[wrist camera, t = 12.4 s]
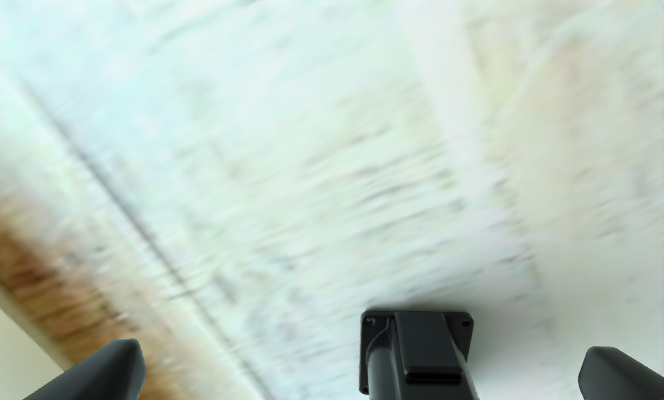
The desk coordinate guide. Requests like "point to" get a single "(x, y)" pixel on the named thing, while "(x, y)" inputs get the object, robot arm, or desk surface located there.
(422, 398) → the robot arm
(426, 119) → the desk surface
